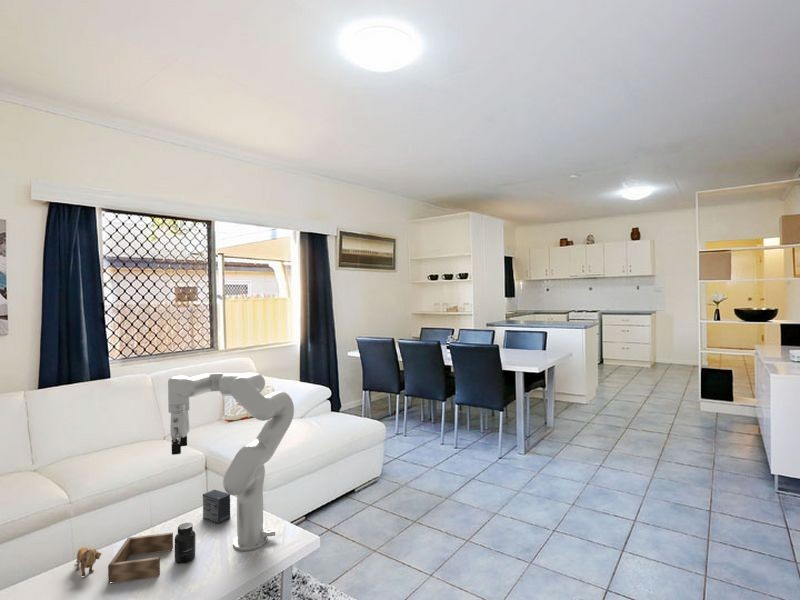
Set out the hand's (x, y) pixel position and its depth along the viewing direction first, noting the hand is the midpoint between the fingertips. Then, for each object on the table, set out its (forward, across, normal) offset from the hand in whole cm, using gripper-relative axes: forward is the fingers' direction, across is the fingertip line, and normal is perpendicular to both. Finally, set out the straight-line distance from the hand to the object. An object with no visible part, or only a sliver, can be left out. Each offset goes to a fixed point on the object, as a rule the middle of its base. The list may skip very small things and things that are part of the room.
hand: (179, 449), depth 177 cm
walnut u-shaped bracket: (+33, -20, +7) cm, 39 cm away
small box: (+34, +9, -12) cm, 37 cm away
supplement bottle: (+34, -20, -6) cm, 39 cm away
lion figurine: (+34, -19, +26) cm, 46 cm away
